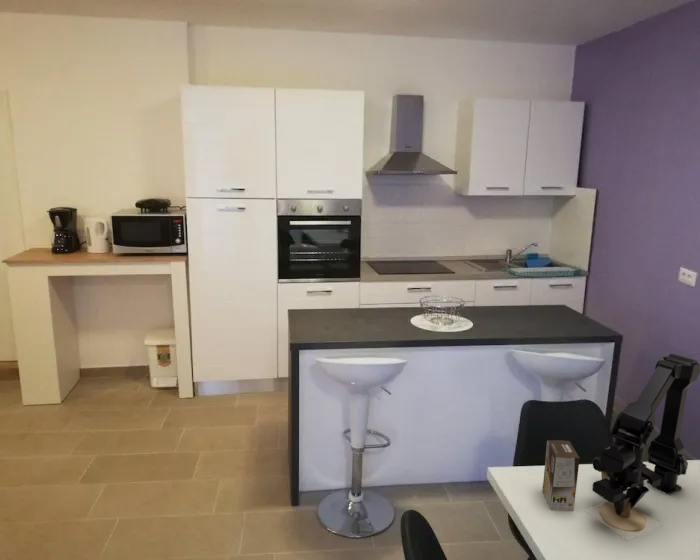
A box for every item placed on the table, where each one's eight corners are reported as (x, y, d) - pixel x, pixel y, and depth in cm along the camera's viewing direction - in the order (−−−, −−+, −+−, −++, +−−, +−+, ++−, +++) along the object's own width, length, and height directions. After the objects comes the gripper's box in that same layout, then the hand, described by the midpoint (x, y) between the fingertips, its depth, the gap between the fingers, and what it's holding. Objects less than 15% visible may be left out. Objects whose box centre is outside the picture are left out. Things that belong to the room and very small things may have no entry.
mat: (617, 498, 150) (617, 497, 149) (661, 527, 138) (661, 525, 138) (583, 511, 144) (584, 509, 144) (626, 541, 133) (627, 540, 132)
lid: (618, 500, 148) (620, 485, 147) (655, 524, 138) (658, 508, 137) (589, 510, 143) (591, 495, 142) (626, 536, 134) (628, 520, 133)
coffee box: (574, 513, 143) (581, 458, 140) (549, 511, 144) (555, 457, 140) (564, 492, 152) (570, 440, 149) (540, 490, 153) (546, 439, 149)
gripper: (627, 436, 148) (620, 486, 152) (578, 450, 140) (572, 503, 144) (665, 455, 138) (657, 509, 142) (615, 473, 130) (608, 529, 134)
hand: (622, 512), depth 141 cm, fingers closed on lid, 3 cm apart
